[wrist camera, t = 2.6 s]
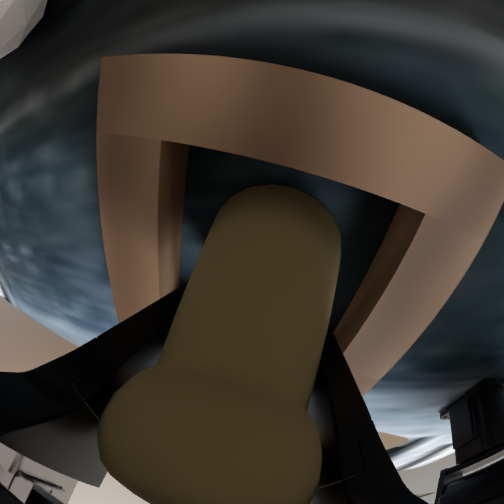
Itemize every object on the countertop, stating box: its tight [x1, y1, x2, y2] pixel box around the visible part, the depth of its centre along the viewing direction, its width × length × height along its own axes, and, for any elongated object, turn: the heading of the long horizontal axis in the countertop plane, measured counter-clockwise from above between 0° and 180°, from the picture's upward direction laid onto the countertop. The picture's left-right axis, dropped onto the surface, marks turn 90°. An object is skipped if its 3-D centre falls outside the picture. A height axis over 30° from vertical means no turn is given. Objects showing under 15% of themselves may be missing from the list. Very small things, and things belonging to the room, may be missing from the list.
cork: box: [97, 184, 342, 504], centre depth 8 cm, size 6×6×11 cm
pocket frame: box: [96, 54, 504, 396], centre depth 12 cm, size 15×15×2 cm
